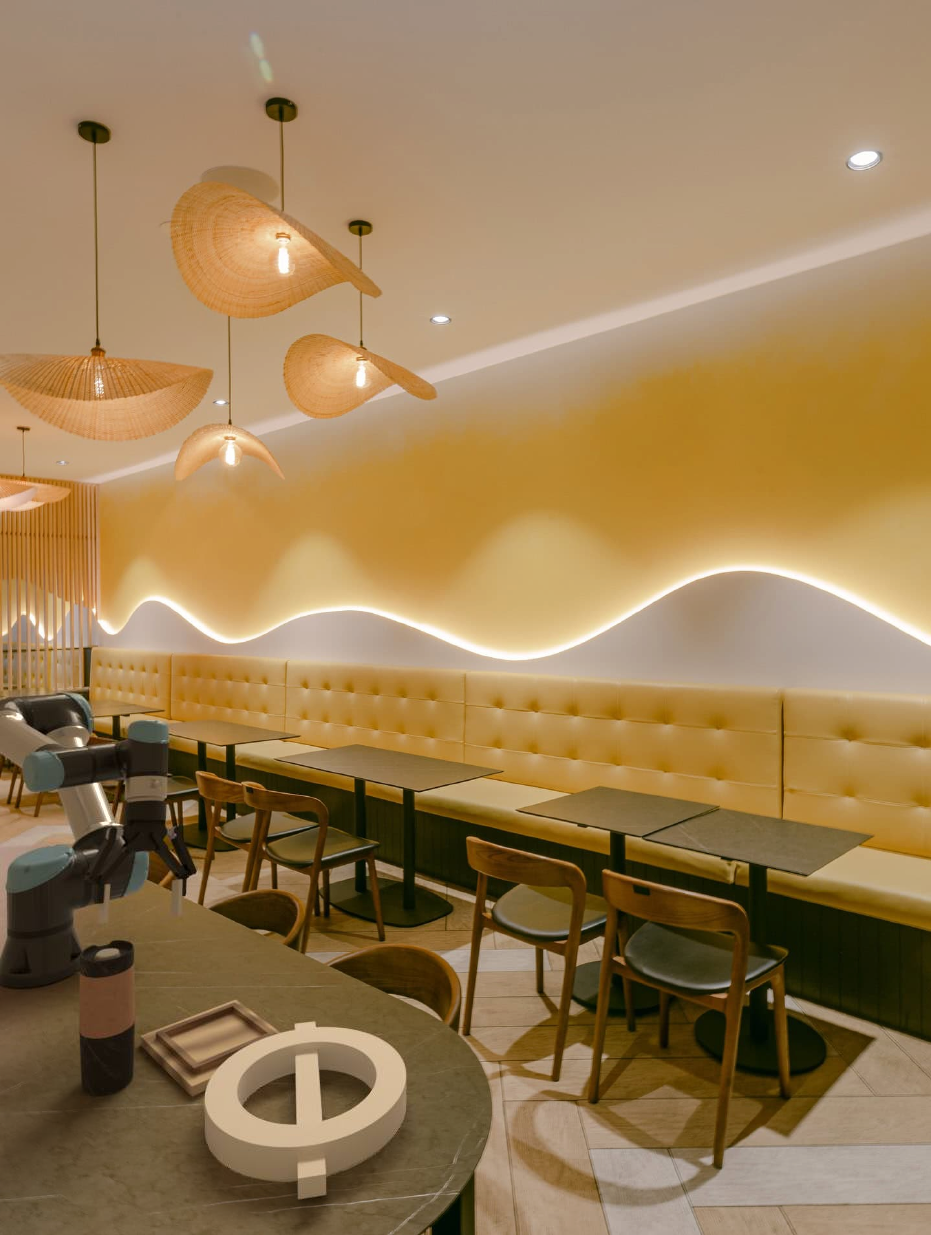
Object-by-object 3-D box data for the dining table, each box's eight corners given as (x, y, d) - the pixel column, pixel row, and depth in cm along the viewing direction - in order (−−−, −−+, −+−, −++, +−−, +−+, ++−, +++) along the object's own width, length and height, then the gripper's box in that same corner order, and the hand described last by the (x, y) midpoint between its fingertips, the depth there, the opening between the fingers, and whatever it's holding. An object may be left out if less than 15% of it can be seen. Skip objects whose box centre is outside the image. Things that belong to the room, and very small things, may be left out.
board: (140, 1045, 127) (140, 1029, 127) (235, 1008, 139) (235, 994, 139) (192, 1096, 114) (192, 1079, 114) (292, 1050, 126) (292, 1035, 126)
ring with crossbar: (312, 1218, 92) (312, 1178, 91) (160, 1133, 106) (160, 1099, 106) (443, 1093, 115) (443, 1061, 115) (304, 1038, 130) (304, 1010, 130)
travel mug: (113, 1100, 113) (113, 963, 113) (67, 1093, 115) (67, 959, 114) (145, 1069, 120) (145, 941, 120) (102, 1064, 122) (101, 937, 122)
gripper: (86, 798, 137) (77, 926, 131) (215, 799, 155) (214, 912, 148) (69, 803, 142) (60, 927, 135) (197, 804, 160) (194, 913, 153)
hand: (140, 920), depth 142 cm, fingers open, 13 cm apart
